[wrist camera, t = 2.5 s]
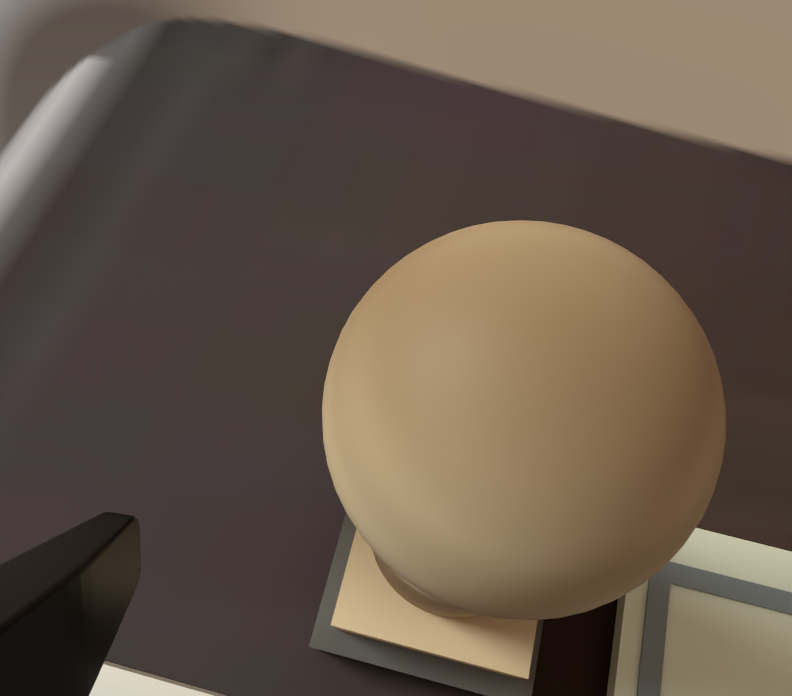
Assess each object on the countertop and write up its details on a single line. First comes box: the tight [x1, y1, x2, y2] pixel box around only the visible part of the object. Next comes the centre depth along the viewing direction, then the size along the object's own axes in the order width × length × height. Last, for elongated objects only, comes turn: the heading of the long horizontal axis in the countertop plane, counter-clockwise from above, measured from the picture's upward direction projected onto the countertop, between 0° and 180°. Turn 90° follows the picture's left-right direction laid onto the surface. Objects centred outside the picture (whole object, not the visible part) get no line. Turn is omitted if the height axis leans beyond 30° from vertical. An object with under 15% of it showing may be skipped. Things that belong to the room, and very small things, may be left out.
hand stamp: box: [309, 221, 726, 696], centre depth 12 cm, size 6×5×13 cm
